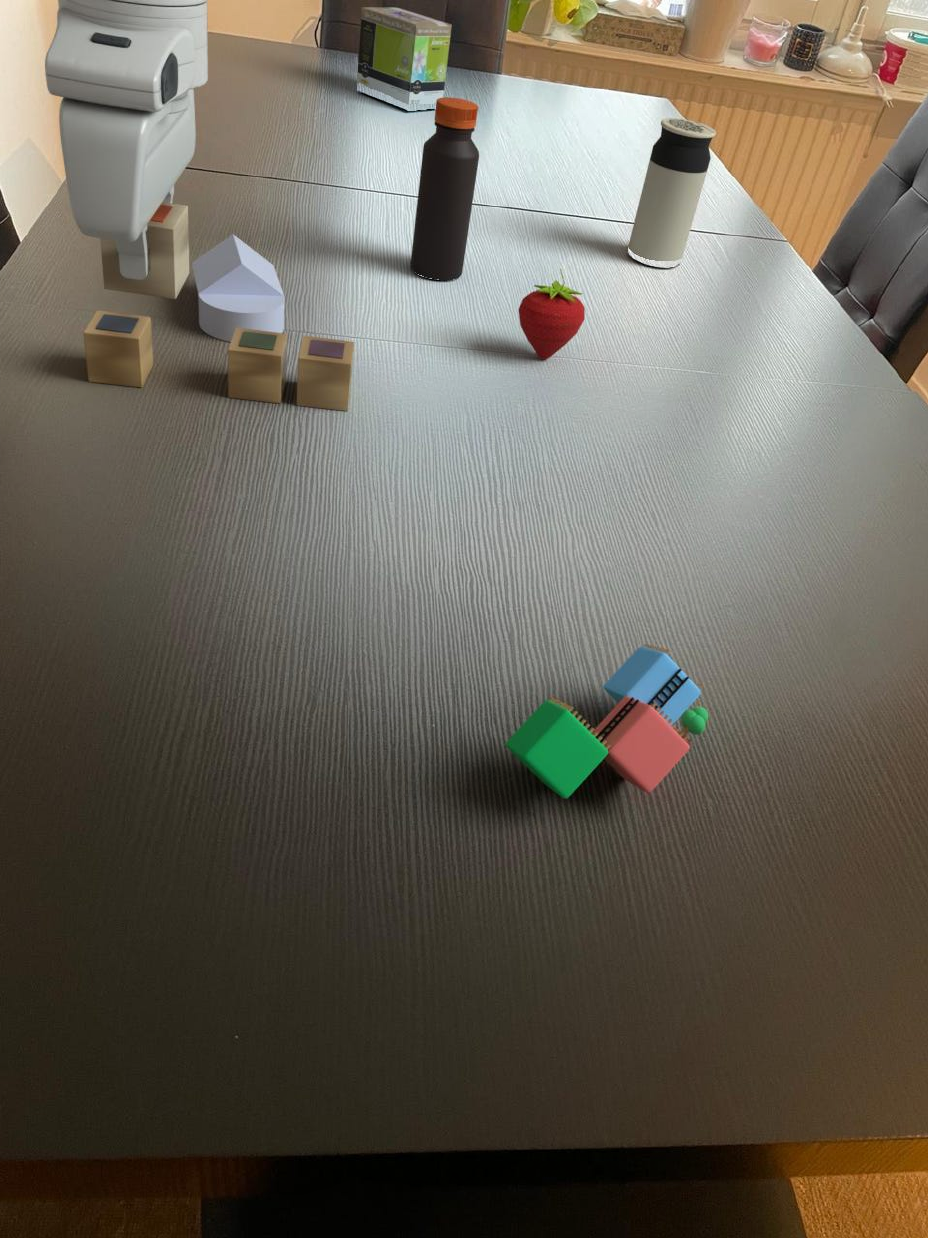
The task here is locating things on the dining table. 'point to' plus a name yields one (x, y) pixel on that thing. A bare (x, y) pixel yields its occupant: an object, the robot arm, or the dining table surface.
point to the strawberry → (551, 317)
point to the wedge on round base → (237, 291)
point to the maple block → (155, 256)
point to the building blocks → (616, 728)
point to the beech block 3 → (324, 373)
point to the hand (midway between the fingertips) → (146, 259)
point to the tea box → (403, 54)
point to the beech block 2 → (257, 365)
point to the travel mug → (671, 190)
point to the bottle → (446, 192)
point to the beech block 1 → (118, 349)
